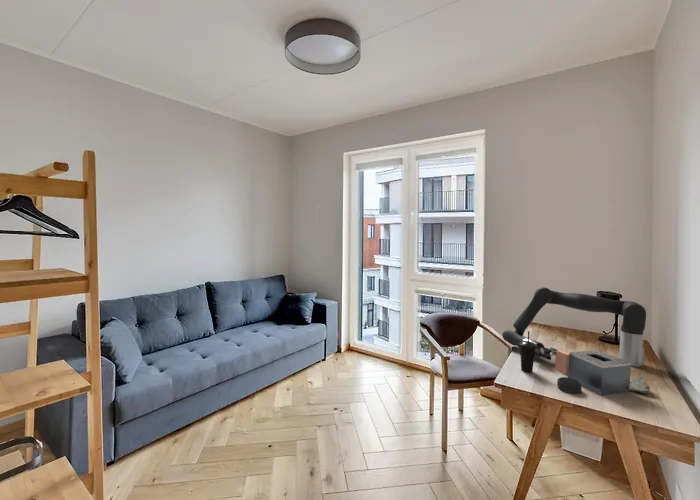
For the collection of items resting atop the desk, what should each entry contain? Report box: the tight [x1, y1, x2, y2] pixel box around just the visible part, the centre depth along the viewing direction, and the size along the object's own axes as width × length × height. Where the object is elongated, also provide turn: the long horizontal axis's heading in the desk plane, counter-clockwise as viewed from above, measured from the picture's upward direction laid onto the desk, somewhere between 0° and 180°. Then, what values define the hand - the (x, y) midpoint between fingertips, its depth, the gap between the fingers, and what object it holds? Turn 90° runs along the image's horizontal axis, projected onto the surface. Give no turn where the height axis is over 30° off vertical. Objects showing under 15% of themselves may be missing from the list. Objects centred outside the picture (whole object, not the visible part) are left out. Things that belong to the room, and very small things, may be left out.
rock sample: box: [629, 375, 651, 395], centre depth 149 cm, size 10×8×9 cm
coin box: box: [567, 349, 632, 396], centre depth 153 cm, size 16×16×13 cm
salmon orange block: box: [554, 349, 570, 376], centre depth 167 cm, size 6×4×10 cm, turn 15°
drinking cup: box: [519, 331, 537, 374], centre depth 167 cm, size 8×8×20 cm
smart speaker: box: [556, 376, 582, 394], centre depth 148 cm, size 9×9×4 cm
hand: (557, 357), depth 170 cm, fingers open, 8 cm apart
